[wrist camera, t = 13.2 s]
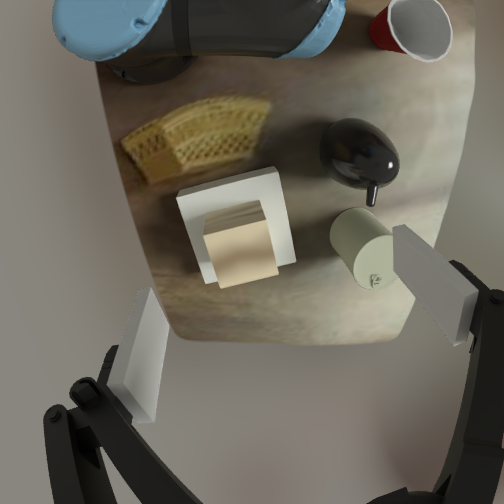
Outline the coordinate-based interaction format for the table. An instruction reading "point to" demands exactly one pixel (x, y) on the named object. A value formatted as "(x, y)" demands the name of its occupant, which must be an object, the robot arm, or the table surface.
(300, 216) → the table surface
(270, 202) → the white square slab
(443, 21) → the plastic cup
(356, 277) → the can
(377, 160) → the pump dispenser
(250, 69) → the table surface
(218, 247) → the maple cube
